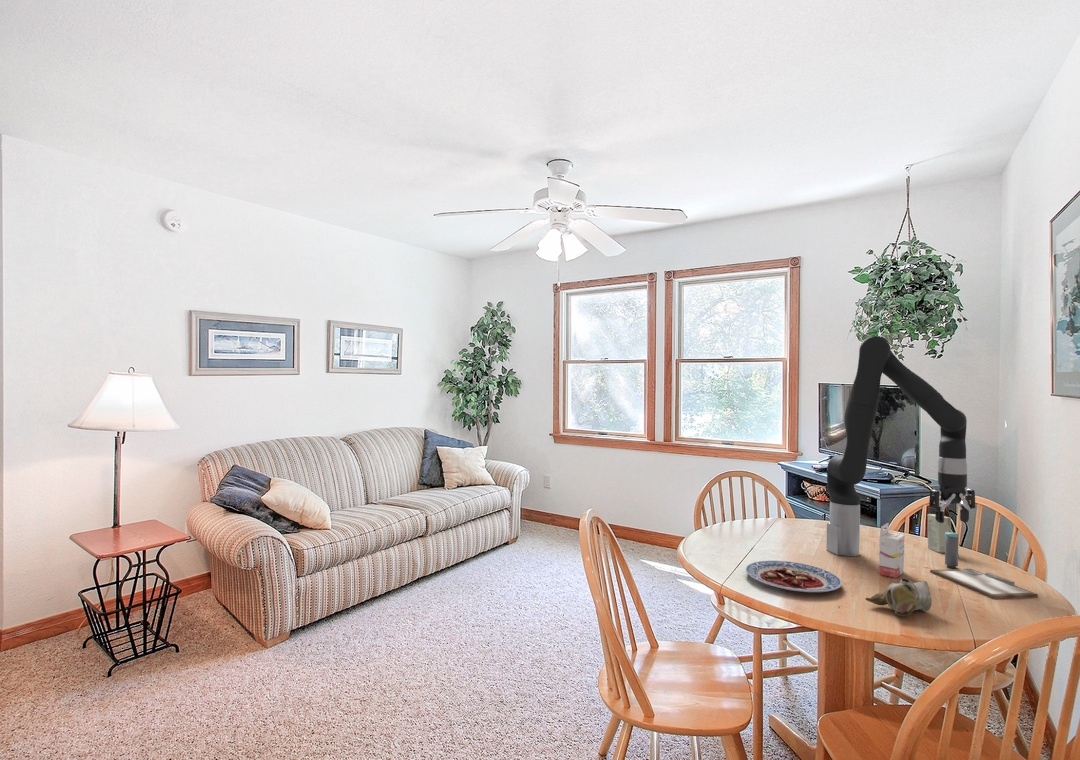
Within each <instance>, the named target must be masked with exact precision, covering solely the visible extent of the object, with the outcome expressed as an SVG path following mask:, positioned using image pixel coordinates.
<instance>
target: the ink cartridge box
mask: <svg viewBox="0 0 1080 760" xmlns="http://www.w3.org/2000/svg"><path fill="white" fill-rule="evenodd" d="M889 525H890V523H889V522H887V523H885V524H883V525H882V526H881V527H880V534H879V553H878V554H879V559H878V560H879V561H878V566H879V567H878V568H879V569H878V574H879V575H881V576H886V577H890V578H893V579H897V578H899V576H900V575H903V573H904V571H905V570H904V565H905V564H904V563H905V561H904V559H905V536H906V535H905V534H901V533H897V532H896V533H895V532H890V531H889Z"/></svg>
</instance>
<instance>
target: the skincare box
mask: <svg viewBox="0 0 1080 760" xmlns="http://www.w3.org/2000/svg"><path fill="white" fill-rule="evenodd" d="M935 516H936V515H935V513H934V514H933V513H928V514H927V548H928V549H929V550H933V551H934V552H937V553H944V554H945V532H952V518H951V517H949V516H945V515H944V523H940V522H937V521H936V519H935Z"/></svg>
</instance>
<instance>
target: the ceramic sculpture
mask: <svg viewBox="0 0 1080 760" xmlns="http://www.w3.org/2000/svg"><path fill="white" fill-rule="evenodd" d="M928 583H929V582H928V581H927V580H924V581H923V580H922V581H919V582H918V581H917V582H913V581H911V580H910V579H907V578H902V579H900V581H898V582H893V583H890V584H888V585H887V586H886V588H885V591H880V592H877V593H876V594H874V595H873V596H871V597H865V598H864V600H866V601H867V602H869V603H872V604H874V605H878V606H887V605H888V607H889V608H890V609H892V610H893V611H894V614H895V615H898V616H900V617H908V616H910V615H911V614H912V613H914V611H922V612H928V611H930V610H931V607H932V603H933V600H932V595H931V591H930V587H929V584H928Z"/></svg>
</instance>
